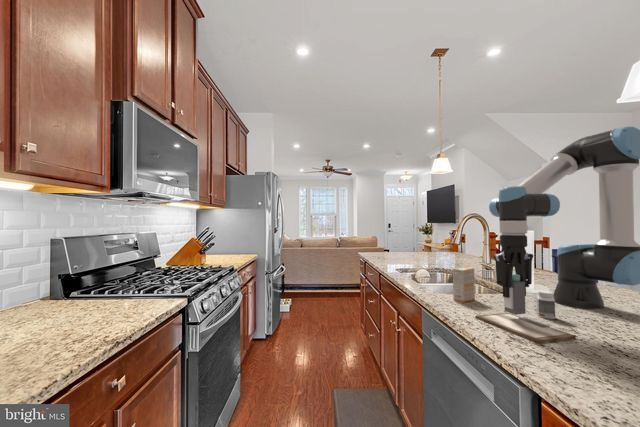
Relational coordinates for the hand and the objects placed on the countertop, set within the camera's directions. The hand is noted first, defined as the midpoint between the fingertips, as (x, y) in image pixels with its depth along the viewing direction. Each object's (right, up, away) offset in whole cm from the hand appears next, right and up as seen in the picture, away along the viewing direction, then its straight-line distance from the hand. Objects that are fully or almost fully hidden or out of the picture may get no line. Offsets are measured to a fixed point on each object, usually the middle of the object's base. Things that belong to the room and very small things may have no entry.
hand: (514, 307), depth 96 cm
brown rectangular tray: (-2, -4, -5) cm, 7 cm away
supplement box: (-3, -6, +27) cm, 28 cm away
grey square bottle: (0, -2, 0) cm, 2 cm away
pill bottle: (+14, -5, +5) cm, 15 cm away
